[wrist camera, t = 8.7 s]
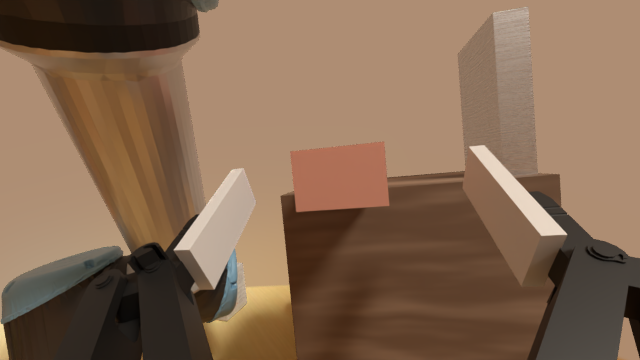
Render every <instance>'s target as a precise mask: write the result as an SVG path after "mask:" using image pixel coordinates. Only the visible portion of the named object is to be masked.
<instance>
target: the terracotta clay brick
mask: <svg viewBox="0 0 640 360" xmlns="http://www.w3.org/2000/svg"><path fill="white" fill-rule="evenodd" d="M290 153H291V164H292V174H293V184H294V194H295V204H296V212H304V211H319V210H334V209H349V208H365V207H380V206H389V195H388V183H387V171H386V160H385V147H384V142H375V143H366V144H356V145H348V146H338V147H329V148H319V149H310V150H300V151H291V152H290Z"/></svg>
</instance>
